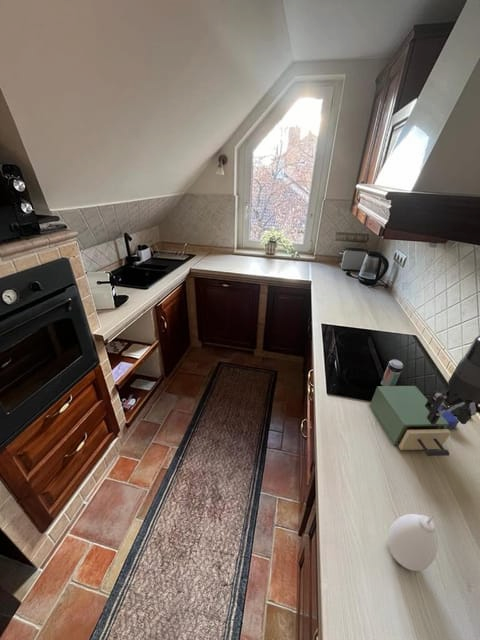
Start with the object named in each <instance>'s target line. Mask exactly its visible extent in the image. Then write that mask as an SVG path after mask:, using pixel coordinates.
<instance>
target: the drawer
mask: <svg viewBox="0 0 480 640" xmlns="http://www.w3.org/2000/svg"><path fill="white" fill-rule="evenodd" d="M440 428H441V426H413V427H406V428H405V430H404V432H403V434H402V435H401V437H400V439H399V441H401V443H400V445H398V448H399V450H400V451H412V450H413V451H416V450H424V455H425V456H427V457H446V456H450V451H449V450H448V449H445V448H444V447H443V445H445V443H446V441H447V440H448V438H449V437H450V435H451V434H452V431H450V428H446V429H440Z"/></svg>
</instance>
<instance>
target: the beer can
mask: <svg viewBox="0 0 480 640" xmlns="http://www.w3.org/2000/svg"><path fill="white" fill-rule="evenodd" d="M403 368H404V364H403V362H402V361H401V360H399V359H396V358H393V359H391V360H390V361H389V362H388V364H387V367H386V369H385V371H384V374H383V377H382V379H381V381H380V384H381V386H396V384H397V382H398V380H399V378H400V375H401V373H402V370H403Z"/></svg>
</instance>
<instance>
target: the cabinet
mask: <svg viewBox="0 0 480 640" xmlns="http://www.w3.org/2000/svg"><path fill="white" fill-rule="evenodd" d="M427 401H428V399H427V398H426V396H425V395H424V394H423V392H422V391H420V389H419V388H418V387H417V386H416V385H395V386H382V385H380V386H376V388H375V392H374V394H373V396H372V399H371V400H370V404H369V407H370V408H371V409H372V412H373V413H374V415H375V417H376V418H377V420H378V421H379V423H380V425H381V426H382V428H383V430H384V431H385V433H386V434H387V436H388V439H390V441H391V443H392V444H393V446H399V445H400V443H401V441H399V439H400V437H401V435H402V434H403V432H404V430H405V428H406V427H413V426H441V428H440V429H448V428H447V426H448V425H449V423H448V422H447V421H446V420H445V419H444V418H443V417H442V415H440V418H439V419H438V421H437V423H436V424H431V423H430V422H429V420H428V419H427V416H428V414H429V411H428V409H427V408H426V407H425V404H426V403H427ZM431 406H432V405H431Z"/></svg>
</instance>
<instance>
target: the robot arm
mask: <svg viewBox="0 0 480 640" xmlns="http://www.w3.org/2000/svg"><path fill="white" fill-rule="evenodd" d="M447 386H448V389H447V390H446V391H444V392H439V391H438V390H433V391H432V393H431V395H430V396H429V398H428V399H427V400H428V401H427V403H426V404H425V407H426V408H427V409H428V411H429V414H428V416H427V419H428V420H429V422H430V423H431V424H436V423H437V421H438V419H439V418H440V415H442V414H443V413H445V412H451V413H452V411H454V410H457V409H461V410H460V412H459V413H458V414H457V416H456V419H457V420H458V421H459V422H458V423H460V424H461V425H466V424H467V423H468V422H469V420H470V419H471V418H472V417H473V416H475V415H477V413H478V414H480V406H479V405H480V335H477V336H476V337H475V338H474V339H473V341H472V343H471V344H470V346H469V348H468V349H467V351H466V353H464V356H463V357H462V358H461V359H460V360H459V362H458V364H457V366H456V367H455V369H454V371H453V373H452V374H451V375H450V377H449V379H448V382H447ZM445 403H446V404H447V406H446V405H445ZM431 405H432V406H431ZM440 406H442V409H441V410H438V408H439V407H440Z"/></svg>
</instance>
